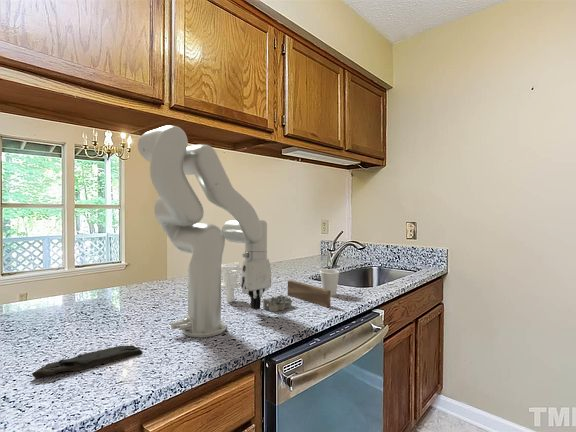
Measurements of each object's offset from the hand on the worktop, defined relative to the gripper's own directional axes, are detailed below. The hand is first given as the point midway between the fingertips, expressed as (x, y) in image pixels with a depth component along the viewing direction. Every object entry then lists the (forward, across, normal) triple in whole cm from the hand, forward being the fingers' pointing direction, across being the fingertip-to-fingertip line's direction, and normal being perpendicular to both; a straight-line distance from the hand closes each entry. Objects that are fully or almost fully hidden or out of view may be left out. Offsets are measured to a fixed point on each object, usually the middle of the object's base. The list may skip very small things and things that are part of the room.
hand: (255, 308), depth 113 cm
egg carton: (+2, +10, +1) cm, 10 cm away
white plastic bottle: (+2, +1, +19) cm, 19 cm away
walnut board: (+2, +25, 0) cm, 25 cm away
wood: (+2, -50, -5) cm, 51 cm away
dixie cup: (+2, +39, +1) cm, 39 cm away
